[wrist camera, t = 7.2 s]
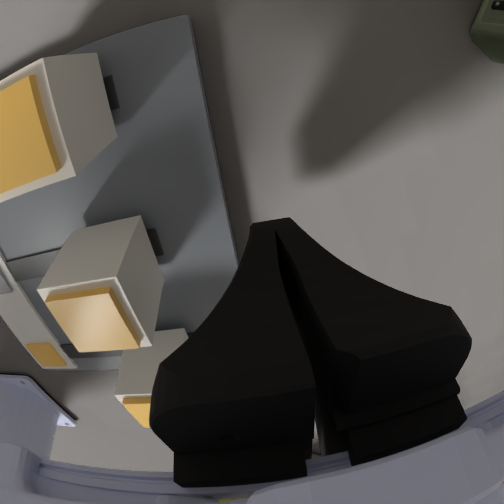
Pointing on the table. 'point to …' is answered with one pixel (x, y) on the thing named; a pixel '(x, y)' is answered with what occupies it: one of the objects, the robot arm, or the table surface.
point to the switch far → (144, 372)
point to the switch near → (52, 122)
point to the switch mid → (105, 287)
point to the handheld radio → (490, 29)
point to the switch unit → (130, 195)
